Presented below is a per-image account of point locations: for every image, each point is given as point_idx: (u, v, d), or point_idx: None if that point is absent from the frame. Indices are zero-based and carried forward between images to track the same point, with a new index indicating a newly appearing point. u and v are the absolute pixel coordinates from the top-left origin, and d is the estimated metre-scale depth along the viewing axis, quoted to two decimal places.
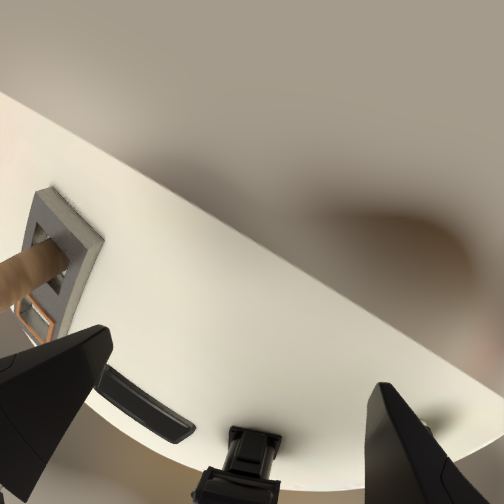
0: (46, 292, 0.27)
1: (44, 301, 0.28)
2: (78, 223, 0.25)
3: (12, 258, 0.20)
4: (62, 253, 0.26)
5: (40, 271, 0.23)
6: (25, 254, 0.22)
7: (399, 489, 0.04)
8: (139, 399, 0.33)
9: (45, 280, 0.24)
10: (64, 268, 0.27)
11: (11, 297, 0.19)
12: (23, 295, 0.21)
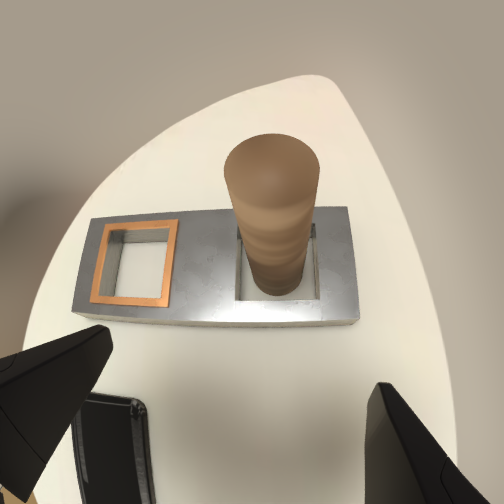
0: (214, 275, 0.21)
1: (191, 275, 0.22)
2: None
3: None
4: (299, 279, 0.22)
5: (297, 267, 0.18)
6: None
7: (399, 489, 0.04)
8: (132, 470, 0.17)
9: (275, 278, 0.19)
10: (277, 290, 0.22)
11: (289, 243, 0.14)
12: (272, 258, 0.16)
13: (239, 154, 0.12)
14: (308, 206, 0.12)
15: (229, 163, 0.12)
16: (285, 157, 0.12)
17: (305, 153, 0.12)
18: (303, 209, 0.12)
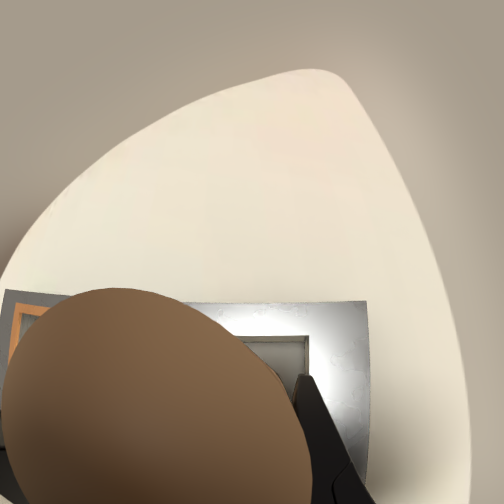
0: None
1: None
2: None
3: (278, 378, 0.08)
4: None
5: None
6: None
7: None
8: None
9: None
10: None
11: None
12: None
13: (27, 377, 0.03)
14: None
15: (9, 403, 0.02)
16: (164, 439, 0.02)
17: (257, 426, 0.02)
18: None
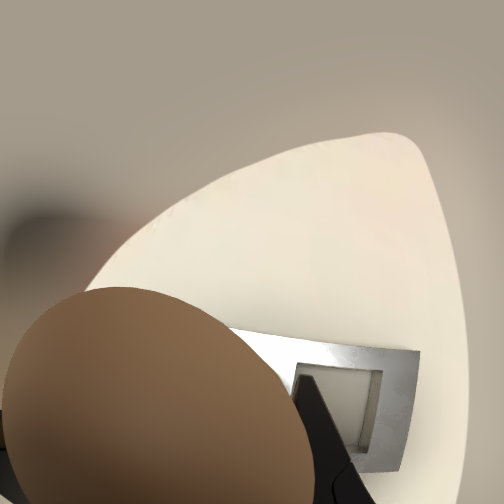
0: None
1: None
2: None
3: None
4: None
5: None
6: None
7: None
8: None
9: None
10: None
11: None
12: None
13: (29, 376, 0.03)
14: None
15: (10, 402, 0.02)
16: (166, 438, 0.02)
17: (259, 425, 0.02)
18: None
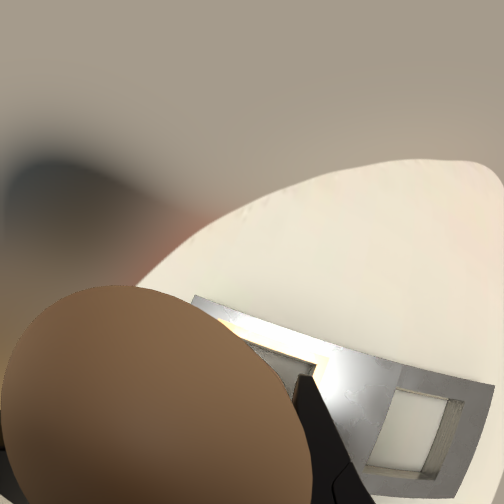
0: (351, 442, 0.14)
1: None
2: None
3: None
4: None
5: None
6: None
7: None
8: None
9: None
10: None
11: None
12: None
13: (27, 374, 0.03)
14: None
15: (8, 401, 0.02)
16: (163, 437, 0.02)
17: (257, 424, 0.02)
18: None
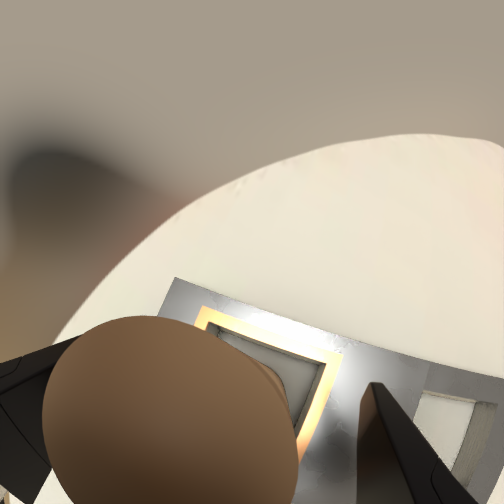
0: None
1: (336, 453, 0.11)
2: None
3: (277, 380, 0.09)
4: None
5: None
6: (284, 389, 0.10)
7: (389, 490, 0.04)
8: None
9: None
10: None
11: None
12: None
13: (69, 387, 0.03)
14: None
15: (50, 409, 0.03)
16: (187, 431, 0.03)
17: (257, 420, 0.03)
18: None
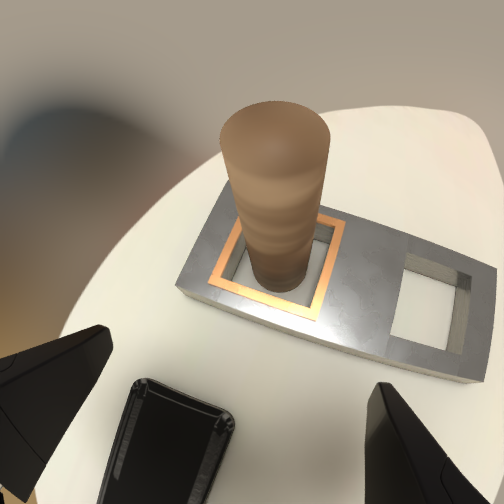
0: (374, 300, 0.18)
1: (349, 292, 0.18)
2: None
3: None
4: (303, 273, 0.20)
5: (302, 257, 0.16)
6: None
7: (399, 489, 0.04)
8: (187, 485, 0.15)
9: (278, 270, 0.17)
10: (279, 286, 0.20)
11: (294, 225, 0.12)
12: (275, 245, 0.14)
13: (238, 121, 0.10)
14: (318, 180, 0.10)
15: (226, 130, 0.10)
16: (290, 124, 0.10)
17: (313, 120, 0.10)
18: (312, 182, 0.10)
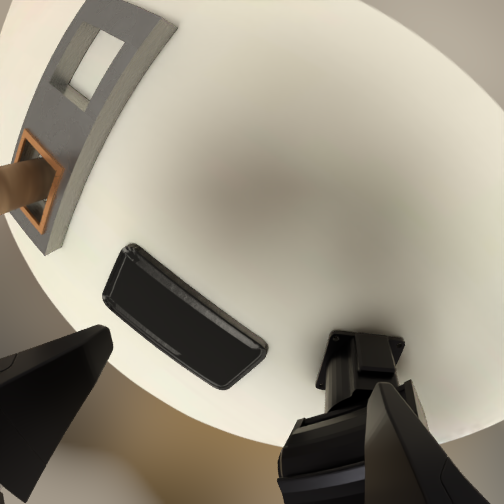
0: (64, 118, 0.18)
1: (56, 137, 0.18)
2: None
3: None
4: (48, 164, 0.21)
5: (20, 176, 0.17)
6: (4, 165, 0.17)
7: (399, 489, 0.04)
8: (180, 302, 0.23)
9: (28, 191, 0.19)
10: None
11: None
12: None
13: None
14: None
15: None
16: None
17: None
18: None
